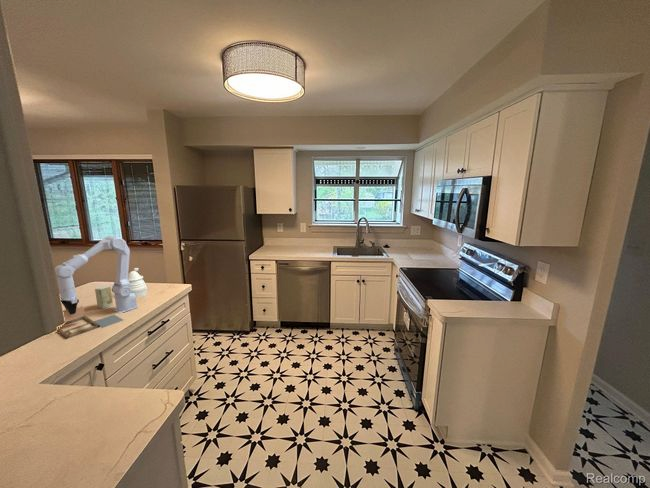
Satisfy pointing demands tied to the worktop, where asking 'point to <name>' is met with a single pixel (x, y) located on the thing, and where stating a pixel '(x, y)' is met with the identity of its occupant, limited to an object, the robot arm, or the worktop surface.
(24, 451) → the worktop surface
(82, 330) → the walnut rack
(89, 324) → the offcut upper
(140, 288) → the honey pot
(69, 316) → the dusty pink block
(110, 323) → the slate mat
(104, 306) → the skincare box
